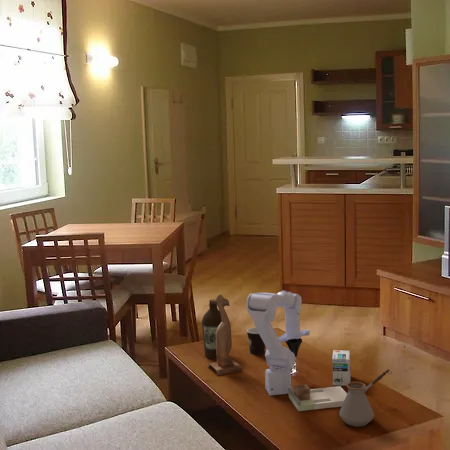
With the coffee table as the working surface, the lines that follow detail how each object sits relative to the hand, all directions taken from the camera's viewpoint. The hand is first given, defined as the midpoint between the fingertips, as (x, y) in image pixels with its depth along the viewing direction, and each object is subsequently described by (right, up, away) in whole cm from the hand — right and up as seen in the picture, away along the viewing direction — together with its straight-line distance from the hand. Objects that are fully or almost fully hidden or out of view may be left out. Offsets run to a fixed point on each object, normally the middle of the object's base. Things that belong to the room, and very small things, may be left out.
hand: (294, 356), depth 265 cm
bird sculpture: (-27, -9, +16) cm, 33 cm away
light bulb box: (+18, -9, -2) cm, 21 cm away
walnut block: (+1, -11, -21) cm, 24 cm away
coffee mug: (-13, -5, +36) cm, 39 cm away
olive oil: (-31, -6, +33) cm, 46 cm away
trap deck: (+7, -12, -20) cm, 24 cm away
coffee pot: (+21, -14, -35) cm, 44 cm away
